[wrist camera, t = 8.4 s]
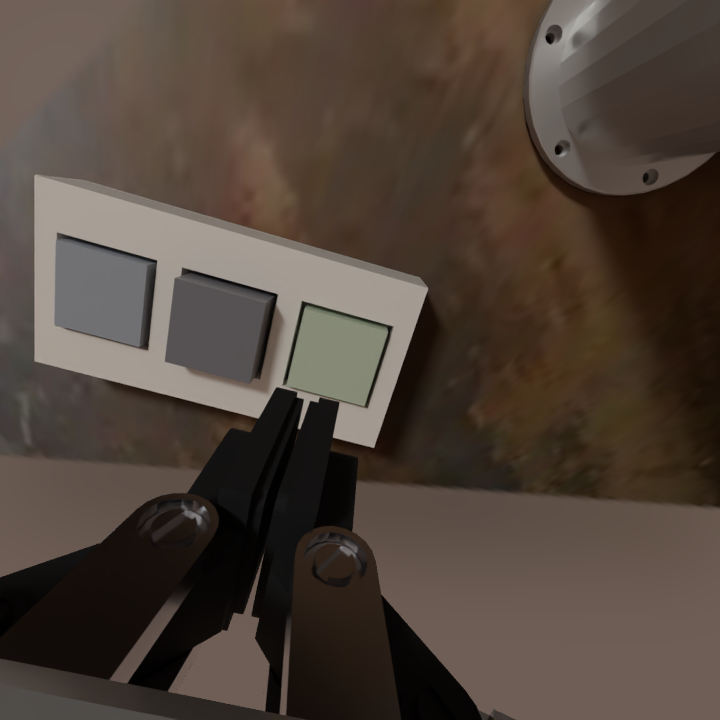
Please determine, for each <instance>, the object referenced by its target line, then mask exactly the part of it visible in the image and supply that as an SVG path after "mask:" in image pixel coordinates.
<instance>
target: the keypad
mask: <svg viewBox="0 0 720 720" xmlns="http://www.w3.org/2000/svg"><path fill="white" fill-rule="evenodd" d="M70 238H79V239H83V240H86V241H90V242H93V243H97V244H101V245H104V246H108V247H111V248H115V249H118V250H122V251H126V252H129V253H133V254H136V255H140V256H143V257H147V258H151V259H154V260H157V269H156V279H155V289H154V298H153V308H152V318H151V327H150V337H149V342H147V343H146V344H144V345H142V346H141V347H137V346H133V345H129V344H125V343H122V342H118V341H114V340H110V339H106V338H103V337H99V336H95V335H91V334H87V333H84V332H80V331H76V330H72V329H68V328H65V327H61V326H57V325H54V315H55V255H56V240H59V239H70ZM194 271H197V272H201V273H204V274H208V275H211V276H215V277H218V278H222V279H226V280H229V281H233V282H236V283H240V284H244V285H247V286H251V287H254V288H258V289H261V290H265V291H269V292H272V293H276V294H277V299H276V304H275V308H274V313H273V318H272V323H271V327H270V332H269V337H268V341H267V346H266V351H265V356H264V360H263V365H262V367H261V369H260V370H259V371H258V373H257V374H256V376H255V377H254V379H253V380H252V381H251V383H250V384H247V383H244V382H240V381H236V380H232V379H228V378H225V377H221V376H217V375H213V374H209V373H205V372H202V371H198V370H194V369H190V368H186V367H183V366H179V365H175V364H171V363H167V362H165V355H166V346H167V338H168V330H169V321H170V313H171V305H172V296H173V288H174V280H175V278H176V277H179V276H182V275H185V274H188V273H191V272H194ZM427 291H428V287H427V286H426V285H425V283H424V282H423V281H422V280H421V278H420V277H416V276H413V275H409V274H406V273H402V272H399V271H395V270H392V269H389V268H385V267H382V266H378V265H375V264H371V263H368V262H365V261H361V260H358V259H354V258H351V257H347V256H344V255H340V254H337V253H334V252H330V251H327V250H323V249H320V248H316V247H313V246H309V245H306V244H303V243H299V242H296V241H292V240H289V239H285V238H282V237H278V236H275V235H272V234H268V233H265V232H261V231H258V230H254V229H251V228H247V227H244V226H241V225H237V224H234V223H230V222H227V221H223V220H220V219H216V218H213V217H210V216H206V215H203V214H199V213H196V212H192V211H189V210H185V209H182V208H179V207H175V206H172V205H168V204H165V203H161V202H158V201H155V200H151V199H148V198H144V197H141V196H137V195H134V194H130V193H127V192H124V191H120V190H117V189H113V188H110V187H106V186H103V185H99V184H96V183H93V182H89V181H86V180H78V179H70V178H61V177H52V176H43V175H35V361H36V362H40V363H44V364H48V365H52V366H56V367H59V368H63V369H67V370H71V371H75V372H79V373H83V374H87V375H91V376H95V377H99V378H102V379H106V380H110V381H114V382H118V383H122V384H126V385H130V386H134V387H138V388H142V389H145V390H149V391H153V392H157V393H161V394H165V395H169V396H173V397H177V398H181V399H185V400H188V401H192V402H196V403H200V404H204V405H208V406H212V407H216V408H220V409H224V410H228V411H231V412H235V413H239V414H243V415H247V416H251V417H255V418H259V417H260V415H261V413H262V412H263V410H264V408H265V406H266V405H267V403H268V401H269V399H270V397H271V396H272V394H273V392H274V390H275V389H276V387H279V388H283V389H287V390H292V391H296V392H297V398H302V399H304V403H303V408H302V412H301V417H300V421H299V426H298V429H300V428H301V426H302V423H303V420H304V417H305V414H306V411H307V408H308V406H309V403H310V401H314V402H318V401H319V398H320V397H321V398H325V399H329V400H333V401H338V402H340V404H339V409H338V414H337V419H336V424H335V429H334V434H333V438H337V439H341V440H345V441H349V442H353V443H356V444H360V445H364V446H368V447H372V448H374V446H375V443H376V440H377V437H378V434H379V431H380V429H381V426H382V423H383V420H384V417H385V414H386V411H387V408H388V405H389V402H390V399H391V396H392V393H393V390H394V387H395V385H396V382H397V379H398V376H399V373H400V370H401V367H402V364H403V361H404V358H405V355H406V352H407V349H408V346H409V343H410V340H411V338H412V335H413V332H414V329H415V326H416V323H417V320H418V317H419V314H420V311H421V308H422V305H423V302H424V299H425V296H426V293H427ZM308 303H311V304H315V305H319V306H322V307H326V308H329V309H333V310H336V311H340V312H344V313H347V314H351V315H354V316H358V317H361V318H365V319H369V320H372V321H376V322H379V323H383V324H386V325H387V329H388V334H387V337H386V340H385V343H384V346H383V350H382V353H381V356H380V359H379V362H378V365H377V368H376V372H375V375H374V378H373V381H372V384H371V387H370V390H369V394H368V397H367V400H366V403H365V406H361V405H357V404H354V403H350V402H346V401H342V400H338V399H335V398H331V397H327V396H323V395H319V394H316V393H312V392H308V391H304V390H300V389H297V388H293V387H289V386H286V385H287V380H288V376H289V372H290V368H291V364H292V359H293V355H294V351H295V347H296V343H297V338H298V334H299V330H300V326H301V322H302V317H303V313H304V309H305V307H306V306H307V304H308Z"/></svg>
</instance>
